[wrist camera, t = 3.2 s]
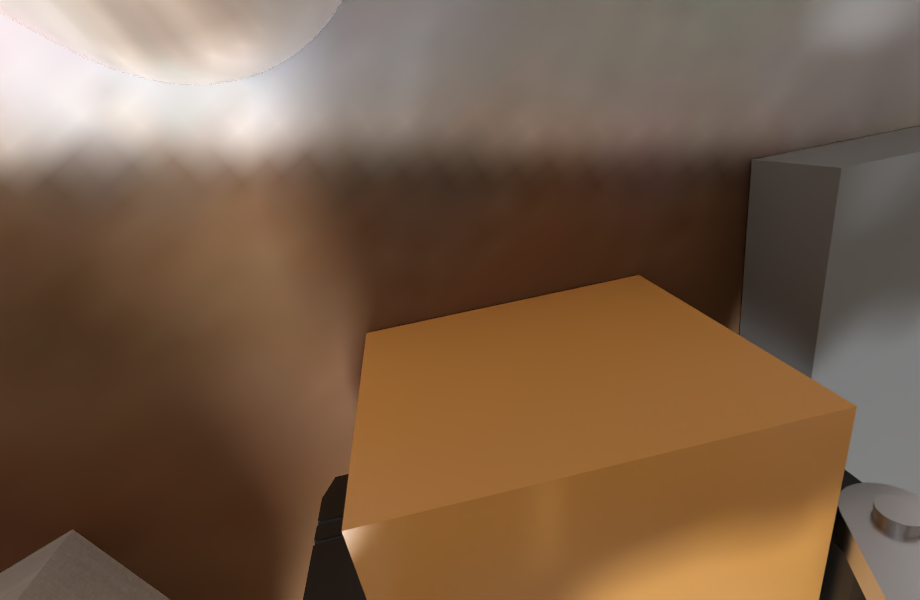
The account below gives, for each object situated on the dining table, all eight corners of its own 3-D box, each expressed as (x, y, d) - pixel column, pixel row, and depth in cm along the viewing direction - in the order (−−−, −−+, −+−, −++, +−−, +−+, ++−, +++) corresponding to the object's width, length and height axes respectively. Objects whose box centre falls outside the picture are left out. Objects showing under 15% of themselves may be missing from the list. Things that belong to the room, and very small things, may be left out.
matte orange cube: (366, 333, 9) (340, 531, 5) (639, 275, 10) (856, 406, 5) (423, 538, 12) (443, 807, 7) (643, 484, 12) (797, 704, 7)
